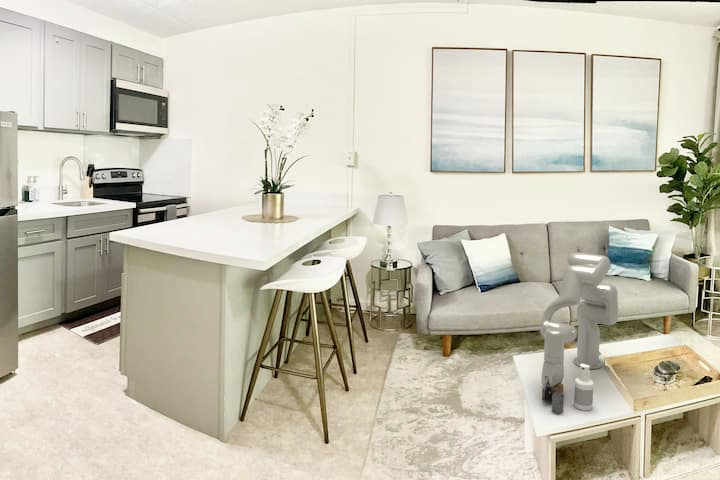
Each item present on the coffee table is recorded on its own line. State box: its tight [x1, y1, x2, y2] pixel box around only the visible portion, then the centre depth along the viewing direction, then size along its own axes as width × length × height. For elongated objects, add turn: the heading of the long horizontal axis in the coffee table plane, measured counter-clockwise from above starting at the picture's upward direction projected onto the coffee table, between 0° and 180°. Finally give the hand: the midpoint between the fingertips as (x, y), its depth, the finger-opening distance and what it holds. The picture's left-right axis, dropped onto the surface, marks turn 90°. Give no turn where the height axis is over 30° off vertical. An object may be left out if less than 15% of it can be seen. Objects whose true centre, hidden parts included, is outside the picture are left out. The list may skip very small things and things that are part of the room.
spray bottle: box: [573, 364, 594, 412], centre depth 191 cm, size 7×7×18 cm
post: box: [551, 392, 565, 415], centre depth 189 cm, size 3×3×8 cm
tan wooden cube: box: [541, 382, 564, 405], centre depth 198 cm, size 6×6×7 cm
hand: (552, 397), depth 198 cm, fingers closed on tan wooden cube, 5 cm apart
